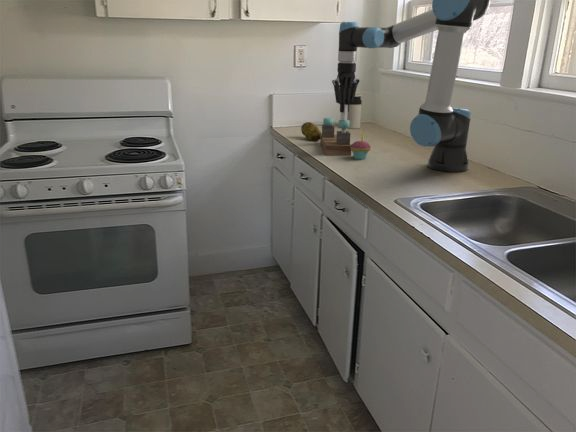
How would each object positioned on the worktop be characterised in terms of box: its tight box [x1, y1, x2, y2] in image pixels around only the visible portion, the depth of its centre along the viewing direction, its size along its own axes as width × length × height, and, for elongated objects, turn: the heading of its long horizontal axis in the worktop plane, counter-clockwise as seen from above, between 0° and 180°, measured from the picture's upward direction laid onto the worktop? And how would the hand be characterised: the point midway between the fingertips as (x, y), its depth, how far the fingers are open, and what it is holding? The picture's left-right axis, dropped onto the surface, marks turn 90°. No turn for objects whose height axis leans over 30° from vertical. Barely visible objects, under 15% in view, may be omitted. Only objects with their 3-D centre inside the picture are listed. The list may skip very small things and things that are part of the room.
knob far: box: [322, 117, 334, 126], centre depth 222 cm, size 5×5×8 cm
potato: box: [300, 121, 322, 142], centre depth 236 cm, size 8×13×8 cm, turn 15°
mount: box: [319, 124, 352, 156], centre depth 216 cm, size 26×11×9 cm, turn 1°
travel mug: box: [347, 93, 363, 130], centre depth 266 cm, size 8×8×18 cm
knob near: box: [338, 119, 350, 133], centre depth 207 cm, size 5×5×8 cm
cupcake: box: [350, 128, 371, 160], centre depth 199 cm, size 9×8×12 cm
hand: (343, 119), depth 206 cm, fingers closed
